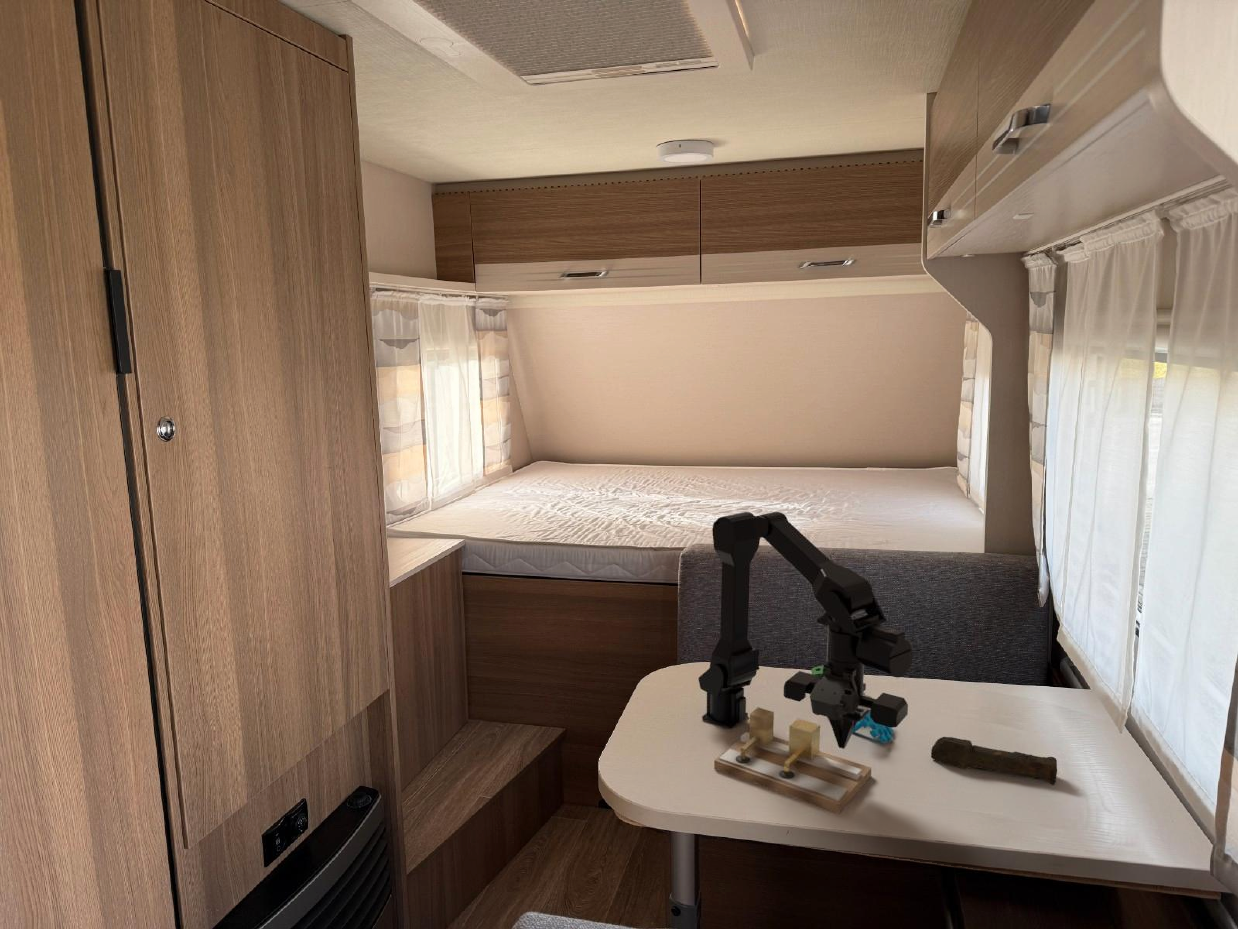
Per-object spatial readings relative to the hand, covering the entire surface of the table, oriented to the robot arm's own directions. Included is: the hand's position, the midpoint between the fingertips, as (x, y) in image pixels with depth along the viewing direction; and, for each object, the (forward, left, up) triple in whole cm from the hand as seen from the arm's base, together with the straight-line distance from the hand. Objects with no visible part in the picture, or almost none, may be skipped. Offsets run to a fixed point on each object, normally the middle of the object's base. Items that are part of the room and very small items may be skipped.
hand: (842, 747), depth 138 cm
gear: (-2, +18, -6) cm, 19 cm away
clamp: (-13, +26, -6) cm, 29 cm away
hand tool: (+19, +17, -6) cm, 26 cm away
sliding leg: (-7, -3, -4) cm, 8 cm away
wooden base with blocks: (-8, -2, -6) cm, 10 cm away
